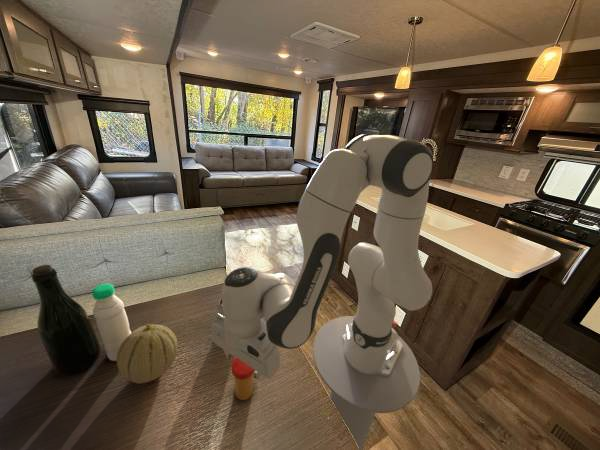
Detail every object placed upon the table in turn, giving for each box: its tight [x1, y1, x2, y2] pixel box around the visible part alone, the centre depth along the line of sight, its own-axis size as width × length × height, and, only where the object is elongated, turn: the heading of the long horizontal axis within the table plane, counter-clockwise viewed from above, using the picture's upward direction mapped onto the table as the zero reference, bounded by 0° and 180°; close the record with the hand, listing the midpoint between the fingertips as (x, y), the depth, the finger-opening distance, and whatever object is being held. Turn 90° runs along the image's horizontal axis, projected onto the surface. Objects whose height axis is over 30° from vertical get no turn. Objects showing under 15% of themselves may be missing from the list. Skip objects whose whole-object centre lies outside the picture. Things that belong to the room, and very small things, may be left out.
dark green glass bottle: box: [31, 264, 102, 377], centre depth 67 cm, size 10×10×33 cm
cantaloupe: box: [116, 323, 179, 384], centre depth 70 cm, size 15×15×15 cm
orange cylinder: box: [234, 374, 254, 401], centre depth 67 cm, size 5×5×11 cm
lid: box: [231, 357, 255, 380], centre depth 65 cm, size 6×6×2 cm
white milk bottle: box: [91, 283, 132, 362], centre depth 72 cm, size 7×7×25 cm
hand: (243, 367), depth 65 cm, fingers open, 8 cm apart
